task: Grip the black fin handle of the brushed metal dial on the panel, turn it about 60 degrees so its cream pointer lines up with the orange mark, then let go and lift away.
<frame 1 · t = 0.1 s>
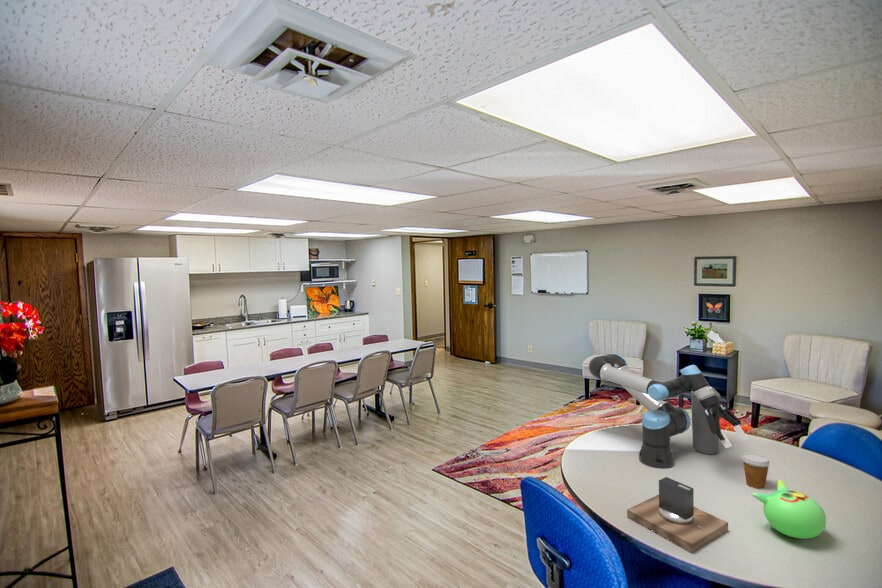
hand: (737, 443, 183), 15 cm above the table, tool tilted 35°, fingers open, 13 cm apart
dial panel: (676, 523, 153), on the table
toy bird: (791, 532, 146), on the table
canister: (705, 450, 213), on the table
disposable coffee cup: (755, 485, 178), on the table
dial: (675, 499, 153), point 9 cm above the table, hinge at 0.0°
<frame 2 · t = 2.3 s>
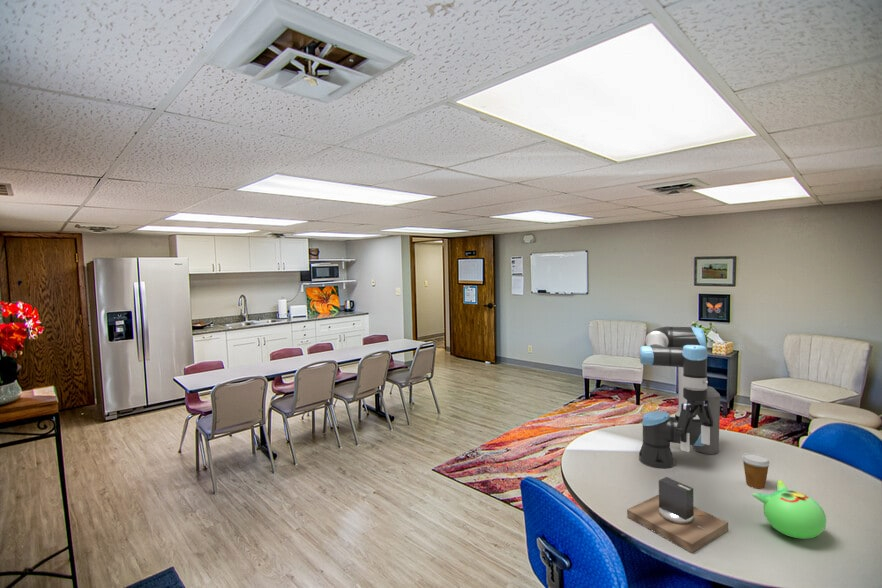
hand: (695, 447, 153), 28 cm above the table, tool pointing down, fingers open, 13 cm apart
nothing on the table moved.
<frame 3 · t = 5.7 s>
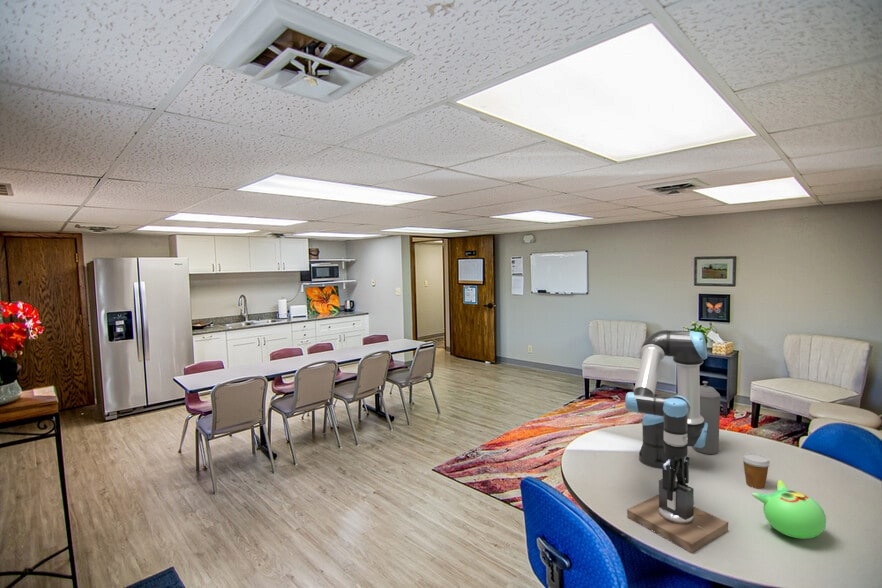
hand: (675, 505, 153), 7 cm above the table, tool pointing down, fingers closed on dial, 5 cm apart
dial: (675, 499, 153), point 9 cm above the table, hinge at 0.0°, touching gripper
everything else where it was.
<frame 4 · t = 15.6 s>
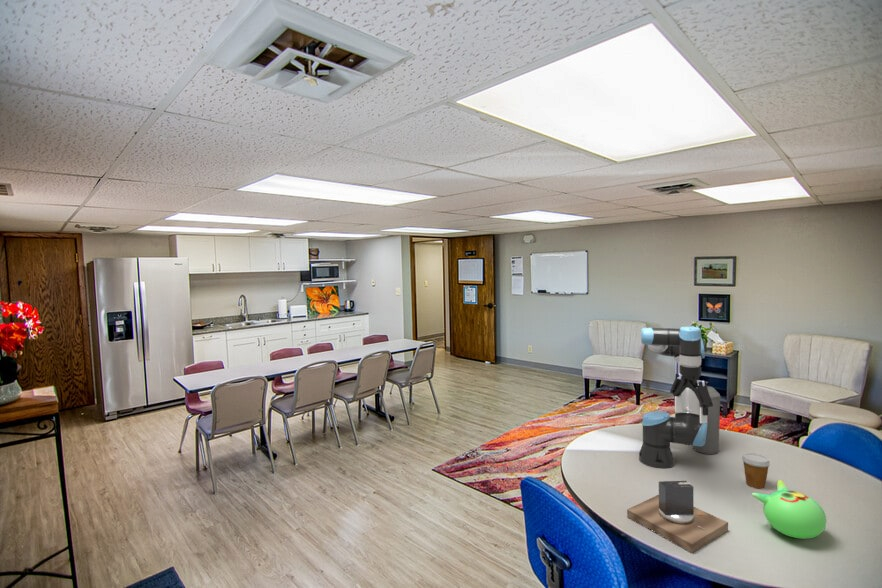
hand: (690, 417, 172), 32 cm above the table, tool pointing down, fingers open, 13 cm apart
dial: (675, 499, 153), point 9 cm above the table, hinge at 60.4°
everything else where it was.
at the end: dial at +60° (first picture: +0°); the gripper is holding nothing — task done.
